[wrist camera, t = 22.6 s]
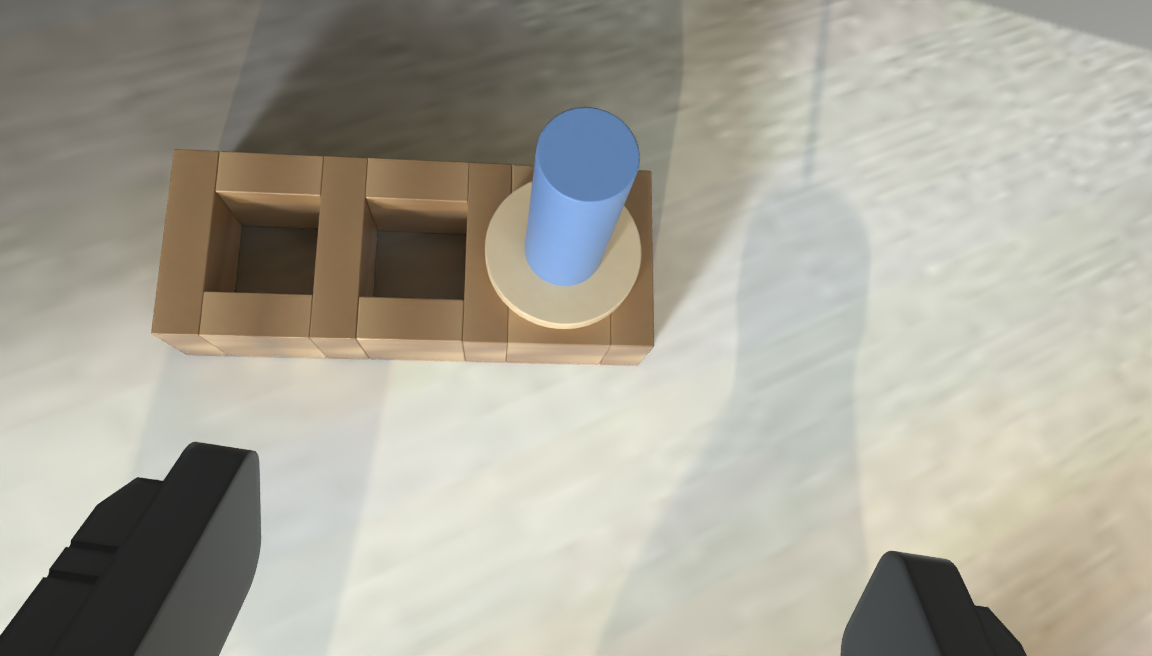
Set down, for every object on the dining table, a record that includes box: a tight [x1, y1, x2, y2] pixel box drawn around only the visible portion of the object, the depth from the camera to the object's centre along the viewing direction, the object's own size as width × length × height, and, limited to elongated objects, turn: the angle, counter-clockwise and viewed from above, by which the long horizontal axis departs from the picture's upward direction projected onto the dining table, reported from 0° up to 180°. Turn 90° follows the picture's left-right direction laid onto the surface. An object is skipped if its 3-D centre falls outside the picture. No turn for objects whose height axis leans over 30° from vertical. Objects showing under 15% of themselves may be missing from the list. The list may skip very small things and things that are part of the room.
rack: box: [151, 149, 654, 366], centre depth 37 cm, size 20×8×4 cm, turn 90°
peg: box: [485, 107, 642, 329], centre depth 32 cm, size 6×6×13 cm
